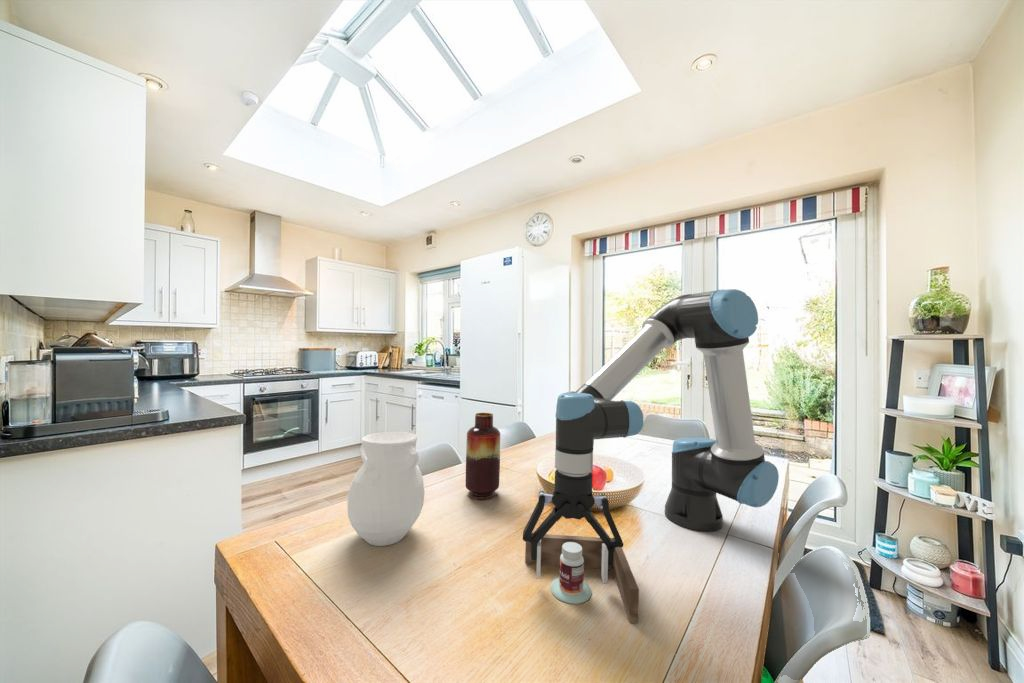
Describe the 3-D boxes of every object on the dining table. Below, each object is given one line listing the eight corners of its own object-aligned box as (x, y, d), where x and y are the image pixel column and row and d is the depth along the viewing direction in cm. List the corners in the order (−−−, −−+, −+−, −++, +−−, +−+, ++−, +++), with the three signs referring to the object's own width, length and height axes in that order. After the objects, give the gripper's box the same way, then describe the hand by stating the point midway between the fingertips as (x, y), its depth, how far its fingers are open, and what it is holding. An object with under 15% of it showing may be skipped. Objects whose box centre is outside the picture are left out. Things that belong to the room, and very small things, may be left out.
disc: (588, 579, 78) (588, 577, 78) (593, 605, 71) (593, 604, 71) (550, 576, 79) (550, 575, 79) (551, 602, 71) (551, 600, 71)
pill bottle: (554, 584, 76) (555, 543, 76) (574, 579, 78) (575, 538, 78) (567, 599, 72) (568, 555, 72) (587, 593, 74) (588, 550, 74)
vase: (505, 492, 123) (507, 413, 124) (485, 504, 114) (487, 419, 114) (478, 485, 129) (480, 410, 129) (457, 495, 120) (460, 414, 120)
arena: (617, 565, 84) (618, 538, 84) (638, 623, 66) (638, 589, 66) (525, 559, 85) (526, 532, 85) (521, 614, 68) (522, 581, 68)
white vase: (438, 528, 99) (440, 433, 99) (387, 564, 82) (391, 450, 82) (384, 513, 106) (386, 425, 107) (328, 543, 90) (331, 439, 90)
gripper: (631, 467, 78) (629, 570, 78) (514, 461, 80) (511, 562, 79) (641, 480, 70) (638, 594, 70) (511, 473, 72) (508, 584, 72)
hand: (571, 577), depth 75 cm, fingers open, 12 cm apart
